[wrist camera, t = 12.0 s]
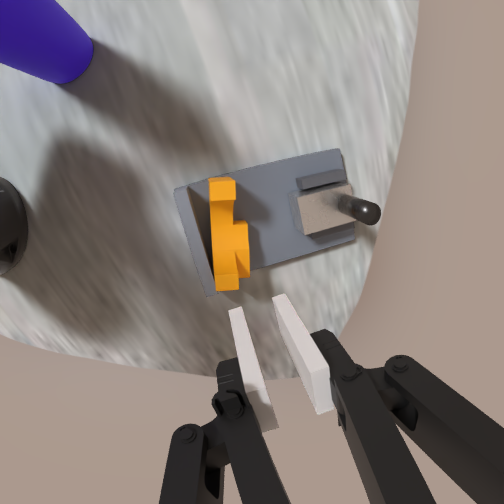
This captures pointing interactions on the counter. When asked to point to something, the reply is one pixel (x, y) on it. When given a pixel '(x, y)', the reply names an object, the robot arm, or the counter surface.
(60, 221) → the counter surface
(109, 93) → the counter surface
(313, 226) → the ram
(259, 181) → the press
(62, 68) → the bottle
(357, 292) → the counter surface
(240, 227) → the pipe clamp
